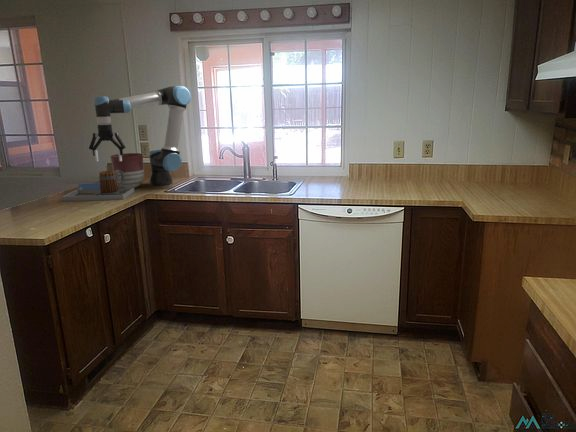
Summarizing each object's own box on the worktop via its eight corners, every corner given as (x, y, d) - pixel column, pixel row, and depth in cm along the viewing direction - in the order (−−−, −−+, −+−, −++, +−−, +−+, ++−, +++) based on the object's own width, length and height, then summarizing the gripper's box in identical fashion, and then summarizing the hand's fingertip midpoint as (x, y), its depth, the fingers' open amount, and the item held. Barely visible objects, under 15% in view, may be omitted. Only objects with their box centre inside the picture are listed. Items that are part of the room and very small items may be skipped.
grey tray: (135, 191, 267) (133, 182, 265) (123, 199, 246) (122, 189, 244) (78, 193, 266) (77, 183, 264) (62, 201, 245) (60, 190, 243)
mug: (106, 199, 247) (103, 173, 243) (97, 197, 253) (93, 172, 249) (130, 194, 259) (127, 170, 255) (120, 192, 265) (117, 168, 261)
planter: (134, 191, 266) (130, 157, 261) (108, 190, 272) (103, 156, 266) (152, 185, 284) (148, 153, 279) (127, 184, 290) (123, 153, 284)
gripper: (128, 123, 248) (132, 159, 254) (85, 124, 248) (90, 160, 253) (124, 124, 241) (128, 161, 247) (79, 125, 241) (84, 162, 246)
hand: (109, 161), depth 250 cm, fingers open, 13 cm apart
